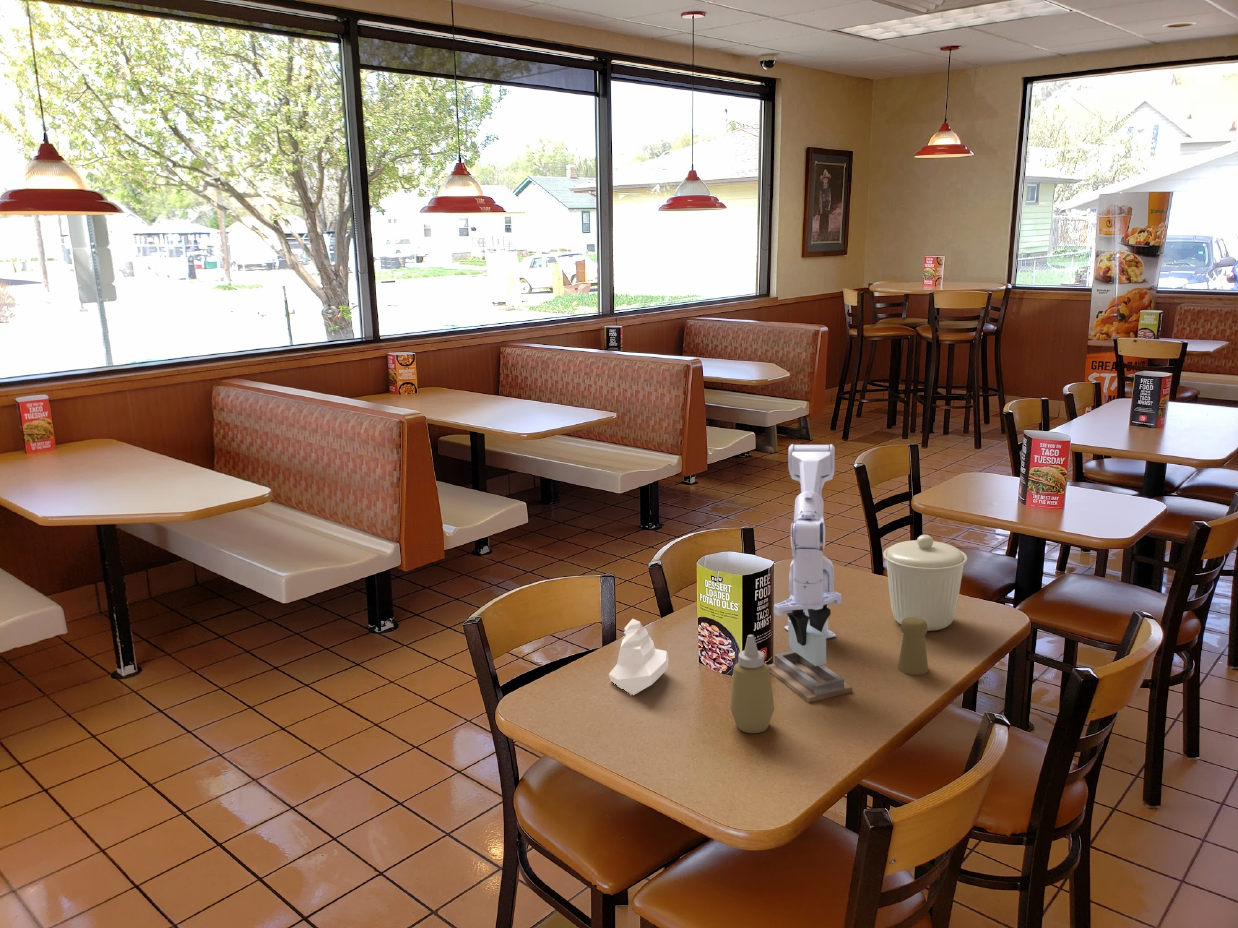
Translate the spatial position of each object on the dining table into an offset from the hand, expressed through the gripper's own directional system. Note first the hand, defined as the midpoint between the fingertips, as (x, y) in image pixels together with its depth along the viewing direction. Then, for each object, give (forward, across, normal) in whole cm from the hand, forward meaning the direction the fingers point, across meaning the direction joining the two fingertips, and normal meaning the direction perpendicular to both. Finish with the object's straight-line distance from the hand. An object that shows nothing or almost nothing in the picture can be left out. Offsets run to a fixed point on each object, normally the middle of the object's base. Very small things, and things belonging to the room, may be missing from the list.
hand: (808, 642), depth 184 cm
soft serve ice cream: (+9, -31, +15) cm, 36 cm away
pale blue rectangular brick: (+3, 0, 0) cm, 3 cm away
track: (+8, 0, 0) cm, 8 cm away
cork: (+9, +22, -5) cm, 24 cm away
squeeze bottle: (+9, -19, -11) cm, 24 cm away
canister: (+9, +39, +13) cm, 42 cm away
